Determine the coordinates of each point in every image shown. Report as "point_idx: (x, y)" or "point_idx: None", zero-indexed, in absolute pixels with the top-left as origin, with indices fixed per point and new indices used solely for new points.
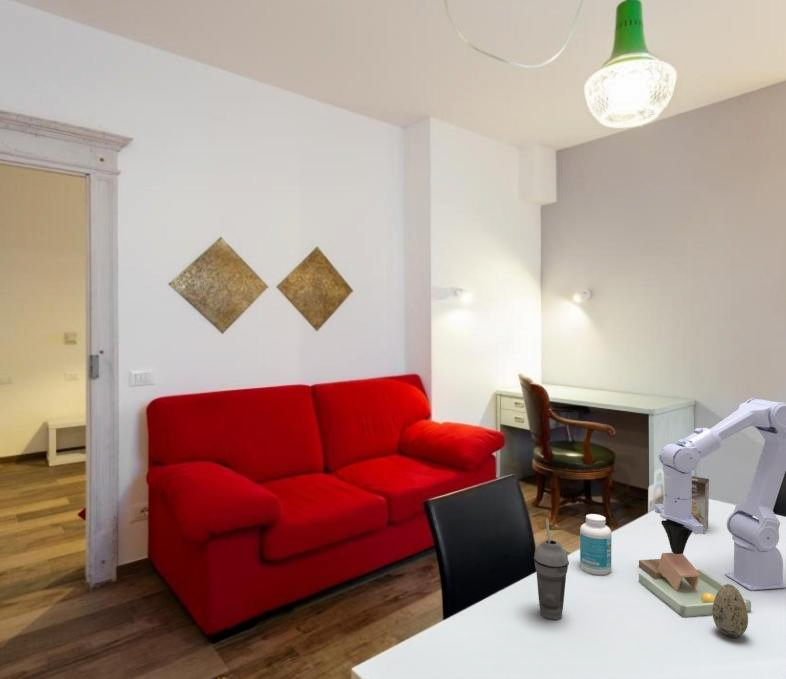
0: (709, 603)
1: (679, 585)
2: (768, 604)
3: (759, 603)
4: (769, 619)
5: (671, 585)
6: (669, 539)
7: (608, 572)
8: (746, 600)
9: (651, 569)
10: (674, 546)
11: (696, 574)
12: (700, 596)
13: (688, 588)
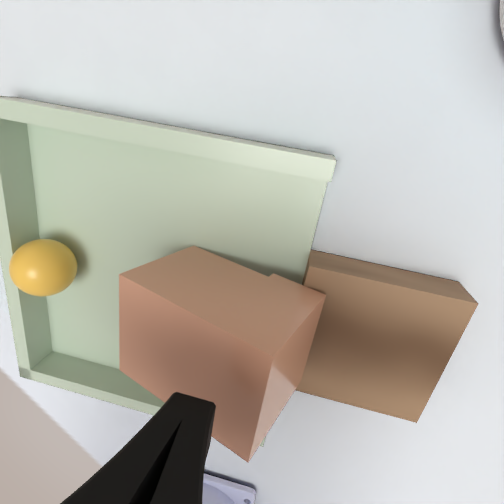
0: (6, 239)
1: None
2: (83, 426)
3: (90, 413)
4: (11, 358)
5: None
6: (181, 494)
7: (500, 12)
8: (28, 372)
9: (351, 275)
10: (138, 436)
11: (121, 355)
12: None
13: None
